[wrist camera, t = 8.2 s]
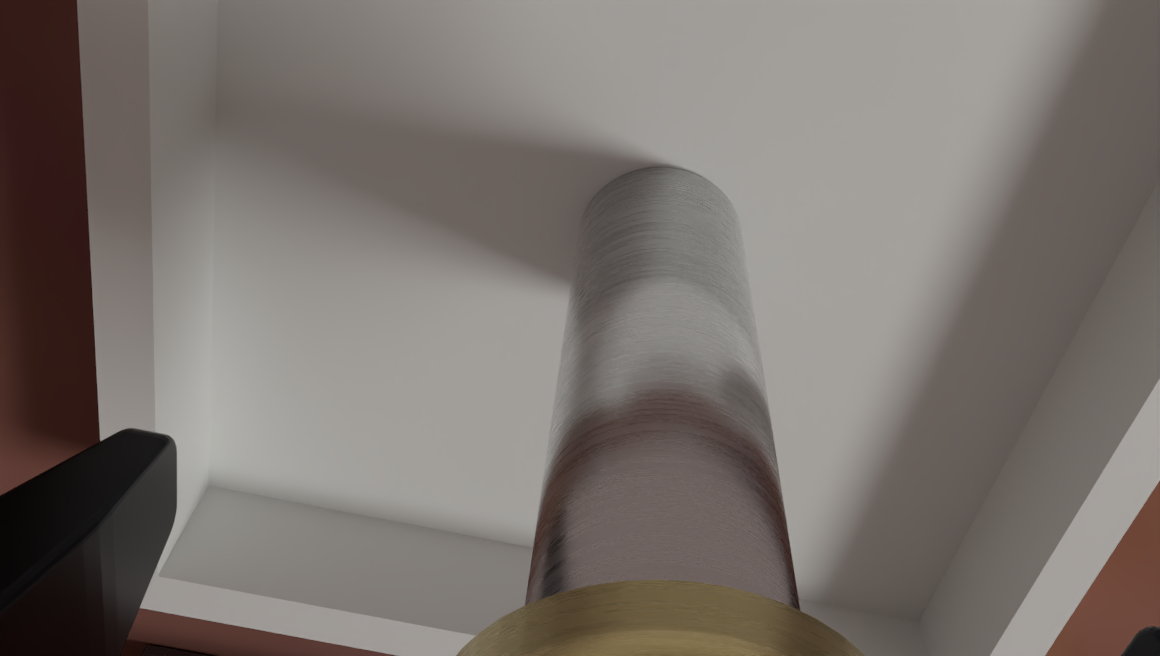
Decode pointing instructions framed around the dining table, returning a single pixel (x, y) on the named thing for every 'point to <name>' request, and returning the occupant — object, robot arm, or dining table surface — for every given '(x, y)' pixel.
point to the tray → (544, 274)
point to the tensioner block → (166, 652)
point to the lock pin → (660, 449)
